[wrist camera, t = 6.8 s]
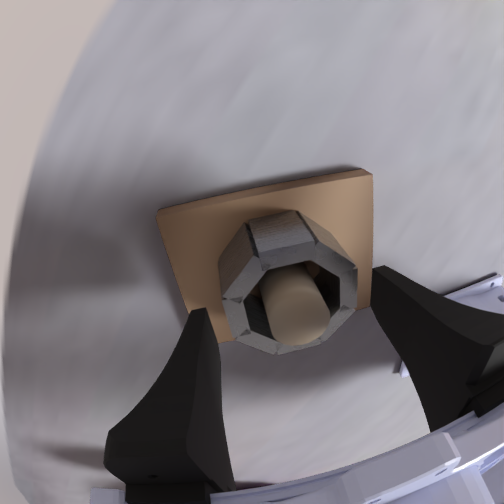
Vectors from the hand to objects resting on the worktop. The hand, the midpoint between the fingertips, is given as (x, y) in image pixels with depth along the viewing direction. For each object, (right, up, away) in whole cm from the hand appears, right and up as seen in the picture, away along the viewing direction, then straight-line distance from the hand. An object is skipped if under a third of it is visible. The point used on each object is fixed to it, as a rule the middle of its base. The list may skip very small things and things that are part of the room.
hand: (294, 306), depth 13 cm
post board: (-1, +2, +3) cm, 4 cm away
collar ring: (0, +2, +2) cm, 3 cm away
